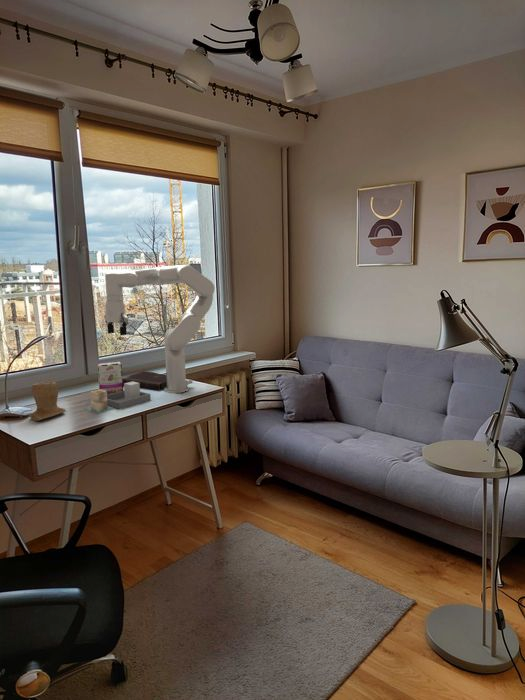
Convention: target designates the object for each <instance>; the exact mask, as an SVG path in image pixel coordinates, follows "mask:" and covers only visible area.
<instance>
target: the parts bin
mask: <svg viewBox="0 0 525 700" xmlns="http://www.w3.org/2000/svg"><path fill="white" fill-rule="evenodd" d="M151 400H152V397H151V393H148V392H146V391H145V392H144V391H141V390H140V396H139V397H136V398H132V399H128V400H125V393H124V390H123V391H121V392H117V393H114V394H110V395H107V404H108V407H110V408H113V409H116V410H122V409H125V408H128V407H133V406H135V405H140V404H142V403H145V402H149V401H151Z"/></svg>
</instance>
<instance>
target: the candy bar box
mask: <svg viewBox="0 0 525 700" xmlns="http://www.w3.org/2000/svg"><path fill="white" fill-rule="evenodd" d="M96 364H97V366H96V367H97V376H98V377H97V378H98V379H97V380H98V387H99V388H98V390H99V389H100V390H104V391H107V395H110V394H114V393H117V392H121V391H124V386H123V378H124V377H123V368H122V363H121V361H116V362H115V361H113V362H112V361H111V362H102V363H96Z"/></svg>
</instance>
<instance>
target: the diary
mask: <svg viewBox="0 0 525 700" xmlns="http://www.w3.org/2000/svg"><path fill="white" fill-rule="evenodd" d="M122 378H123V387H124V383H128V382H132V381H133V382H137V383H139V386H140V389H144V390H149V391H150V390H152V391H158V392H160V391H162V390H161V389H163V390H164V388H165V387H167V378H166V374H163V373H157V372H154V371H145V370H142V371H139V372H136V373H133V374H131V375H127V376H126V377H122Z"/></svg>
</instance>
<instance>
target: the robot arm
mask: <svg viewBox="0 0 525 700" xmlns="http://www.w3.org/2000/svg"><path fill="white" fill-rule="evenodd" d="M104 277H105V295H106V302H105V315H104V316H103V317H104V320H105V323H106V324H105V325H106V326H107V334H114V333H115V325H114V324H117V323H118V324H119V335H120V336H126V335H127V326H128V323H129V317H128V316H127V315H126V309H125V302H124V291H123V288H129V289H131V288H135V287H138V286H146V285H148V286H151V285H155V286H163V285H165V286H166V285H172V284H181V283H182V284H185V285H186V286H187V287H189V288H190V289H191V290H193V291H194V292H195V294H196V297H195V299H194V301H193V302H192V303H191V304H190V306H189V307H188V308H186V309H187V310H185V312H183V313H182V315H181V316H180V318H179V321H178V324H177V325H176V326H175V327H174V328H170V329H169V328H168V330H167V331H166V332H165V334H164V336H163V337H164V338H163V340H164V352H165V353H164V354H165V371H166V372H165V375H166V378H167V387H165V388H164V389H163V391H164V392H165V393H169V394H170V393H172V394H182V392H183V393H185V391H186V392H188V391H189V390H190V387H189V386H188V385H190V384H191V385H192V384H193V382H194V381H193V380H192V379H188V380H187V379H186V354H185V351H186V349H185V347H186V346H187V345H188V344H189V342H190V341H191V340H192V339H193V338H194V336H196V334H197V333H198V332H199V330H200V328H201V326H202V325H201V321H202V320H203V318H204V317H206V314H207V313H208V312H209V310H210V309H211V307H212V305H213V301H214V293H215V284H214V283H213V281H212V280H210V279H209V278H207V277H206V276H204V274H203V273H200V272H199V271H198V270H197V269H196V268H194V267H193V266H191V265H189V264H188V265H187V264H179V265H169V266H161V267H160V266H159V267H158V266H157V267H153V268H147V269H137V270H135V269H134V270H128V271H126V272H118V271H109V272H106V273H105V275H104Z"/></svg>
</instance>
